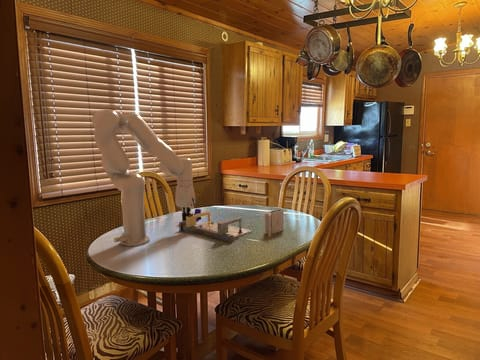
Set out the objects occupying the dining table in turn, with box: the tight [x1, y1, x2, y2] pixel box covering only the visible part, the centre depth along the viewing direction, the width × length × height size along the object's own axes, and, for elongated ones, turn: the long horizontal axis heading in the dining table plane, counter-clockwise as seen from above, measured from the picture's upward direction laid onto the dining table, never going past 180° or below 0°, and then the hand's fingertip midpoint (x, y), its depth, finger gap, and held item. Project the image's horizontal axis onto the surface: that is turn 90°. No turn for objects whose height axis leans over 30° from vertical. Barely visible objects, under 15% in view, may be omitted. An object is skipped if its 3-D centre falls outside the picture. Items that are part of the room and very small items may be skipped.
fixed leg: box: [216, 217, 243, 235], centre depth 167 cm, size 15×2×7 cm, turn 139°
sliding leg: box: [186, 211, 211, 227], centre depth 180 cm, size 15×2×8 cm, turn 139°
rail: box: [178, 221, 234, 244], centre depth 171 cm, size 4×33×4 cm, turn 49°
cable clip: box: [181, 208, 202, 222], centre depth 199 cm, size 12×4×6 cm, turn 145°
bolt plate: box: [195, 221, 253, 239], centre depth 180 cm, size 12×28×1 cm, turn 49°
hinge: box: [264, 209, 284, 237], centre depth 174 cm, size 14×5×10 cm, turn 143°
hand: (186, 220), depth 179 cm, fingers closed
